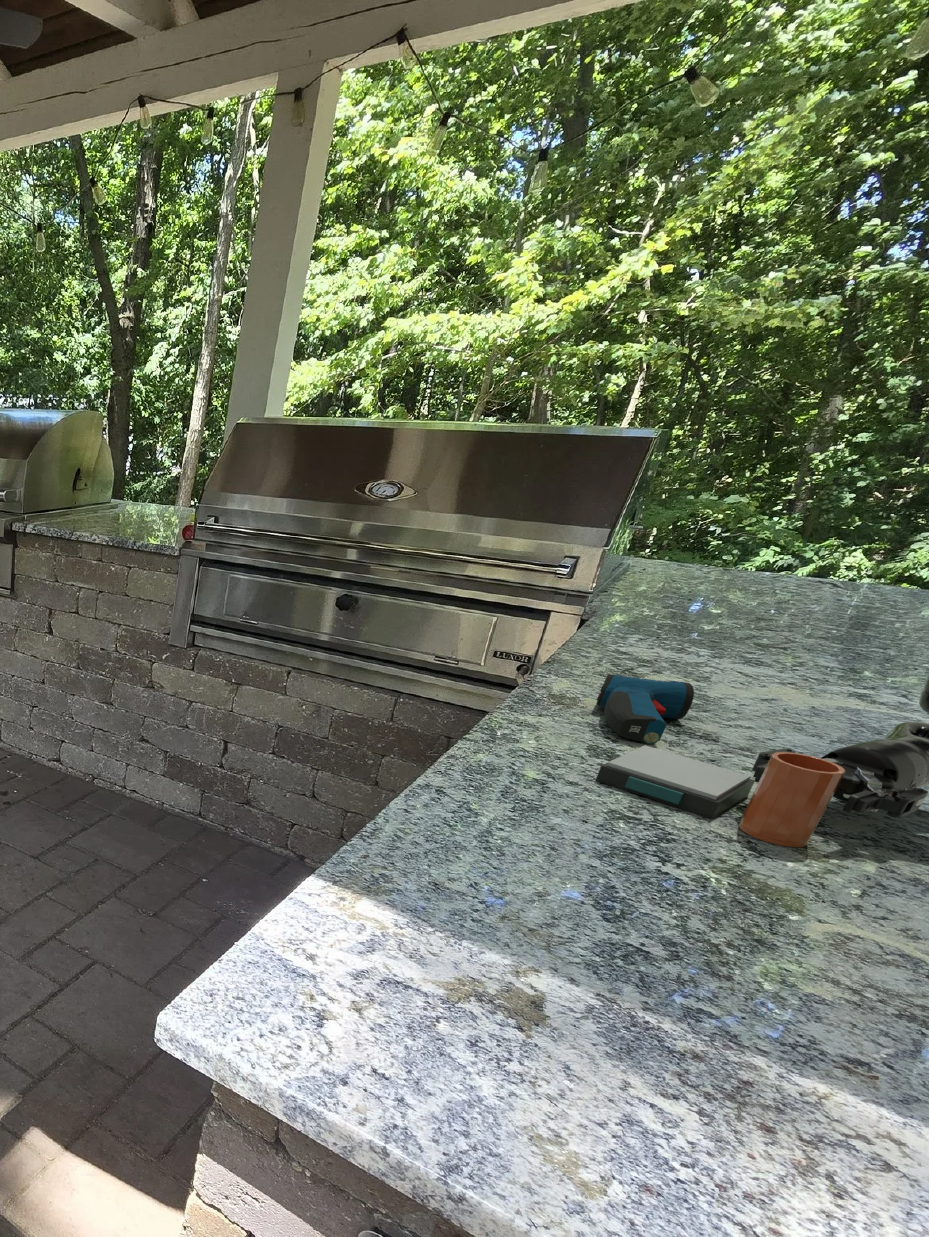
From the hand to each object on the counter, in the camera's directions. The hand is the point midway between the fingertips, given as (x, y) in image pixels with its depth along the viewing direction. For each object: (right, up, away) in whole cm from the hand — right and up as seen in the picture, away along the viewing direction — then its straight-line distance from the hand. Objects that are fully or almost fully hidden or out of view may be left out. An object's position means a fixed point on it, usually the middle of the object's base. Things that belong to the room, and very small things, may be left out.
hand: (803, 789), depth 98 cm
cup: (-2, -6, +2) cm, 6 cm away
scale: (-4, -1, +13) cm, 14 cm away
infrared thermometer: (+11, +8, +35) cm, 38 cm away
